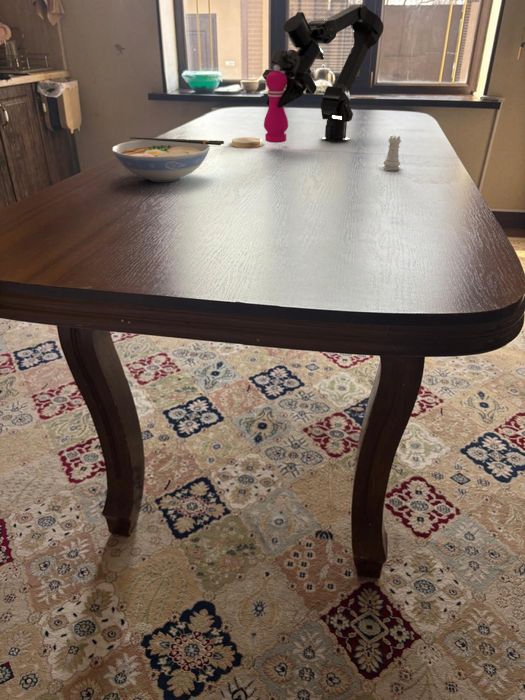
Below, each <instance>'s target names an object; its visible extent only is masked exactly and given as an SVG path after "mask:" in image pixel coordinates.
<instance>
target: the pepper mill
mask: <svg viewBox="0 0 525 700" xmlns="http://www.w3.org/2000/svg"><path fill="white" fill-rule="evenodd" d="M273 70H274V71H272V72H270V73H269V74H268V75H267V78H266V80H265V85H266V87H267V88H268V90H267V97H268V96H269V106H268V109H267V111H266V114H265V117H264V121H263V128H264V129H265V131H266V133H265V142H268V143H273V144H276V143H285V142H286V141H287V133H286V131H287V130H288V127H289V119H288V116H287V113H286V110H285V105H284V106H283V107H281V108H278V106H277V104H278V102H279V100H280V98H281V97H282V95H283V93H284V91H285V90H286V88H287V77H286V75H285V74H284V73H283V72H281V71H280V66H279V65H277V64H274V65H273Z"/></svg>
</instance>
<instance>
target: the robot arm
mask: <svg viewBox="0 0 525 700" xmlns="http://www.w3.org/2000/svg"><path fill="white" fill-rule="evenodd" d="M349 27H350V28H351V29H352V30H353V33H352V35H353V44H352V47H351V49H350V51H349V53H348V55H347V58H346V60H345V62H344V64H343V67H342V69H341V71H340V74H339V75H338V78H337V80H336V82H335V84H334V85H332V86H331V85H328V86H327V87H326V88H325V90H324V93H323V95H322V96H321V101H320V112H321V118H322V120H326V124H325V129H324V130H325V131H324V137H322V138H321V139H322V140H324V141H329V142H333V143H338V142H344V141H350V138H348V137H346V136H347V126H348V125H347V124H348V122H351V121H352V120H353V116H354V112H353V110H352V109H351V106H350V103H351V95H350V91H351V89H352V86H353V85H354V82H355V80H356V78H357V75H358V74H359V71H360V69H361V67H362V65H363V62H364V60H365V58H366V55H367V54H368V51H369V50H370V49H371V48H373V47H374V46H375V45H376V44H377V43H378V41H379V40H380V38H381V36H382V34H383V32H384V27H385V25H384V23H383V21H382V19H381V18H380V17H379V15H378V14H376V13H374V12H373V11H371V10H370V9H368V7H367V5H364V4H363V3H361V4H351V5H349V6H348V7H347V8H344V9H343V10H342V11H339V12H338V13H336V14H334V15H332V16H330V17H328V18H322V19H314V20H310V21H309V22H308V20H307V18H306V15H305V13H304V11H297V12H296V13H295V15H292V16H291V17H290V18H289V19H288V20H286V21H285V22H284V24H283V30H284V32H285V34H286V36H287V37H288V39H289V42H290V43H291V45H292V47H293V48H294V49H288V50H283V49H274V50H273V53H272V57H271V60H270V63H271V64H274V65H276V64H277V65H279V66H280V70H279V71H281V72H283V73H284V74H285V75H286V77H287V85H286V87H285V89H284V90H285V91H284V93H283V95H282V97H281V98H280V100H279V102H278V104H277V106H278V108H281V107H283V106H284V107H285V106H286V105H288V104H290V103H291V102H294V101H295V100H297V99H299V98H301V97H304V96H305V95H308V96H309V95H310V96H314V94H315V93H316V92H317V88H318V85H317V83H316V81H315V79H314V78H313V76H312V75H311V73H312V70H311V68H312V67H313V65H314V64H315V62H316V61H317V60H321V61H323V60H324V59H325V54H324V48H321V47H320V45H329V44H331V43H332V42H333V41H334V40H335V39H336V38H337V35H338V33H340V32H342V31H343V30H345V29H347V28H349ZM295 48H296V49H297V50H295ZM272 71H274V69H270V68H268V69H267V68H266V69H265V70H264V71H263V73H262V77H263V79H264V81H266V78H267V75H268V74H269V73H270V72H272ZM304 92H305V93H304ZM266 106H267V107H269V96H268V95H267V99H266Z"/></svg>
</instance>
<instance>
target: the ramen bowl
mask: <svg viewBox="0 0 525 700" xmlns="http://www.w3.org/2000/svg"><path fill="white" fill-rule="evenodd" d="M129 139H131V141H126V142H121V143H118V144H116V145H114V146H112V148H111V149H112V152H113V154H114V156H115V158H116V159H117V160H118V161H119V163H120V164H121V165H122V166H123V167H124V168H125V169H126V170H127V171H129V172H131V173H132V174H134V175H136V176H139V177H141V178H144V179H147V180H148V181H151V182H155V183H170V182H176V181H179V180H180V179H181V178H183V177H185V176H188V175H190V174H192V173H193V172H194V171H196V170H197V169H199V167H201V165H202V164H203V162H204V161H205V159H206V158H207V155H208V154H209V151H210V148H211V145H212V146H221V145H224V144H225V140H207V139H187V138H159V137H158V138H157V137H156V138H155V137H129ZM133 139H134V140H133Z"/></svg>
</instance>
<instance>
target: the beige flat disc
mask: <svg viewBox="0 0 525 700" xmlns="http://www.w3.org/2000/svg"><path fill="white" fill-rule="evenodd" d="M230 144H231V146H232V147H234V148H240V149H241V148H243V149H251V148H252V149H253V148H259V147H262V145H263V142H262V139H261V138H256V137H250V136H249V137H248V136H247V137H245V136H244V137H236V138H232V139H231V143H230Z"/></svg>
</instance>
